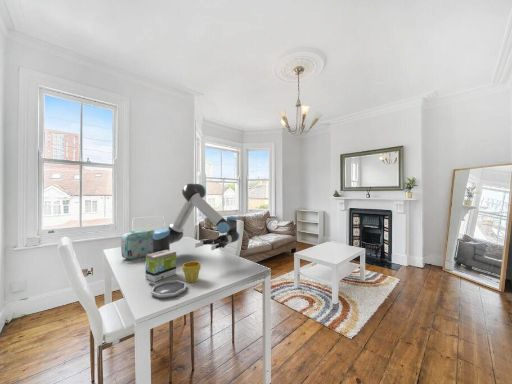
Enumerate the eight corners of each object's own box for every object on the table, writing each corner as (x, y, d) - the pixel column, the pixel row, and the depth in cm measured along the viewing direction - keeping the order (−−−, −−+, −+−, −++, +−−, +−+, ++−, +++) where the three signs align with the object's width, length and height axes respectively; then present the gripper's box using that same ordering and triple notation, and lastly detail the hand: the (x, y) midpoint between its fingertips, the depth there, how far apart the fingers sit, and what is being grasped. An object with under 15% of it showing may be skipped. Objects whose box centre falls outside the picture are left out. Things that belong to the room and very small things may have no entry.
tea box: (155, 282, 127) (154, 257, 127) (145, 278, 133) (144, 254, 132) (176, 274, 140) (176, 251, 140) (166, 270, 145) (166, 248, 145)
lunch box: (126, 262, 162) (126, 233, 162) (118, 259, 168) (118, 232, 167) (158, 253, 185) (158, 228, 185) (151, 251, 190) (151, 227, 190)
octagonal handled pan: (135, 290, 117) (135, 286, 117) (162, 279, 132) (162, 275, 132) (166, 302, 105) (166, 297, 105) (192, 288, 120) (192, 284, 120)
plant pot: (178, 282, 127) (178, 265, 127) (190, 275, 137) (190, 260, 137) (193, 285, 124) (193, 268, 124) (204, 278, 133) (204, 262, 133)
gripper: (238, 247, 151) (219, 255, 133) (210, 243, 163) (189, 250, 145) (238, 236, 151) (218, 243, 132) (210, 233, 163) (189, 238, 145)
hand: (203, 246), depth 139 cm, fingers open, 13 cm apart
